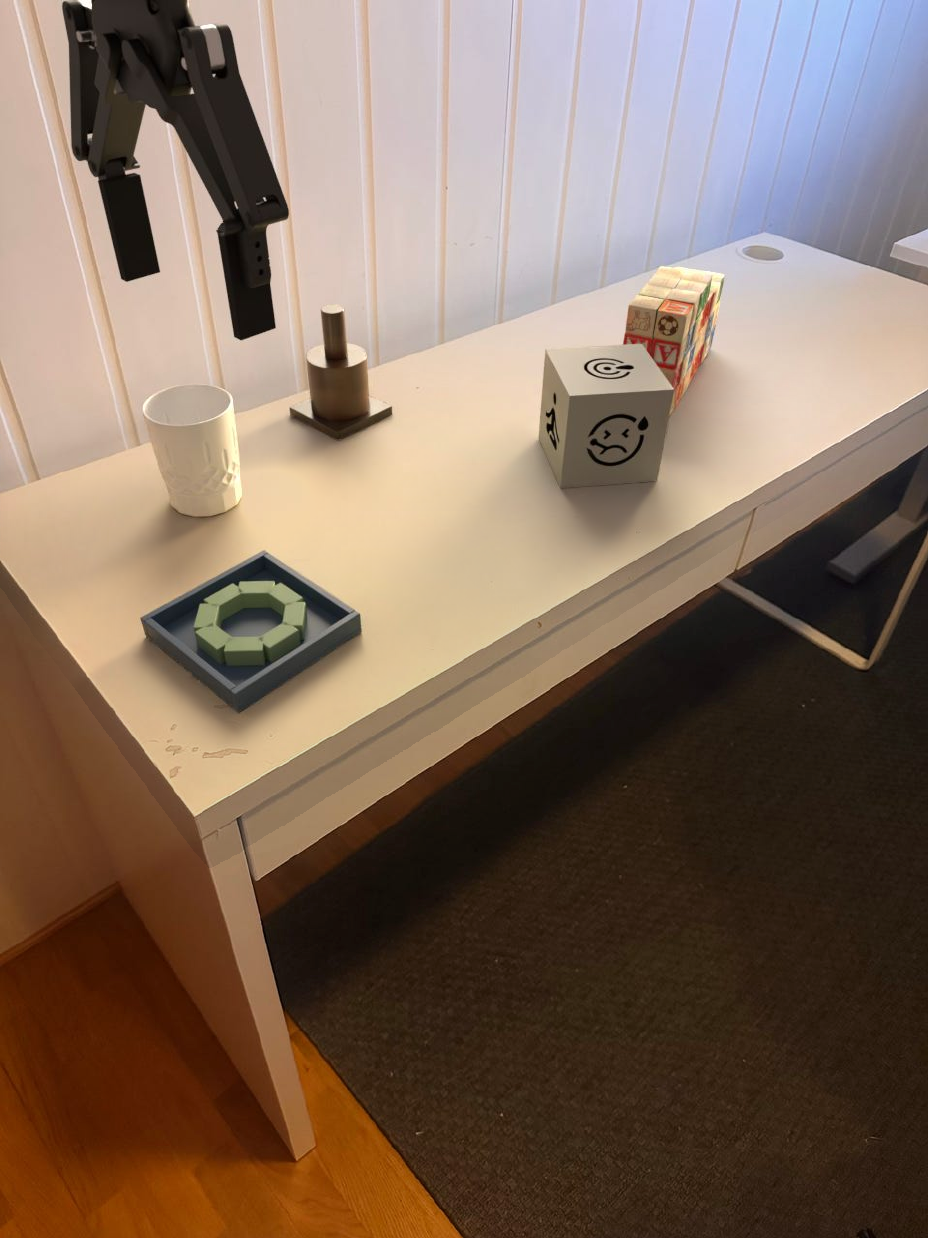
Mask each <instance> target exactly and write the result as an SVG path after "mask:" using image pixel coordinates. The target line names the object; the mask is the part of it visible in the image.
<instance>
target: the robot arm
mask: <svg viewBox="0 0 928 1238" xmlns="http://www.w3.org/2000/svg"><path fill="white" fill-rule="evenodd" d="M189 2H190V0H63V1H62V3H61V12H62V16H63V21H64V25H65V26H64V27H65V31H66V38H67V41H68V63H69V64H68V69H69V71H68V72H69V107H70V143H71V144H70V145H71V152H72V155H73V157H74V158H75V159H76V160H77V161H78V162H84V161H85V162H87V165H88V166H87V167H88V170H89V172H90V173H91V175H92V176H93V177H94V178H98V180H97V183H98V188H99V191H100V192H99V193H100V196H101V201H102V204H103V209H104V212H105V217H106V221H107V225H108V230H109V234H110V238H111V242H112V245H113V247H112V248H113V251H114V255H115V259H116V264H117V268H118V273H119V277H120V280H122V281H124V282H126V283H128V282H132V281H135V280H138V279H142V278H145V277H149V276H153V275H155V274H159V273H161V269H160V264H159V259H158V255H157V249H156V245H155V240H154V235H153V230H152V226H151V221H150V216H149V210H148V206H147V201H146V197H145V196H146V195H145V192H144V191H145V190H144V186H143V182H142V177H141V174H138V173H136V172H132V173H127V174H126V172H127V171H132V170H137V169H140V168H141V165H140V164H139V162H138V160H137V159H136V157H135V151H136V147H137V143H138V139H139V134H140V131H141V130H140V129H141V125H142V122H143V118H144V113H145V109H146V106H147V107H149V108H150V109H154V110H155V111H156V113H157V114H158V116H159V118H160V119H161V120H162V121H163V122H165V123H167V124H169V125H171V126H172V127H173V128H174V131H175V133H176V134H177V136H178V138H179V140H180V142H181V144H182V145H183V147H184V149H185V151H186V153H187V155H188V158H189V159H190V161H191V163H192V165H193V167H194V168H195V170H196V172H197V174H198V176H199V178H200V180H201V182H202V184H203V186H204V187H205V189H206V191H207V193H208V195H209V196H210V199H211V201H212V202H213V204H214V206H215V208H216V211H217V212H218V214H219V216H220V218H221V220H222V222H221V223H220V224H219V226H218V227H217V229H216V230H215V232H216V233H217V240H218V247H219V251H220V257H221V263H222V270H223V276H224V282H225V289H226V295H227V301H228V308H229V314H230V320H231V327H232V333H233V338H235V339H237V340H239V341H245V340H247V339H250V338H252V337H255V336H259V335H261V334H263V333H264V334H265V333H266V332H269V331H272V330H275V329H277V326H276V318H275V310H274V304H273V294H272V287H271V282H272V268H271V262H270V261H271V260H270V254H269V244H268V239H267V228H268V226H269V225H274V224H276V223H280V222H284V221H287V220H288V219H289V215H290V209H289V205H288V203H287V200H286V197H285V195H284V193H283V189H282V186H281V185H280V184H281V183H280V182H279V178H278V175H277V173H276V172H277V171H276V170H275V168H274V164H273V162H272V159H271V156H270V153H269V150H268V148H267V144H266V142H265V139H264V137H263V135H262V131H261V128H260V126H259V123H258V120H257V118H256V115H255V112H254V109H253V107H252V104H251V100H250V98H249V96H248V92H247V90H246V87H245V85H244V82H243V79H242V76H241V74H240V73H241V72H240V69H239V64H238V58H237V51H236V47H235V42H234V37H233V32H232V30H231V28H230V26H229V25H228V24H227V23H226V22H218V23H211V24H201V25H196V24H195V21H194V18H193V16H192V12H191V8H190V3H189ZM191 92H193V93H191ZM88 135H91V137H89V138H88Z"/></svg>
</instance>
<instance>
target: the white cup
mask: <svg viewBox="0 0 928 1238" xmlns="http://www.w3.org/2000/svg"><path fill="white" fill-rule="evenodd" d="M234 408H235V407H234V400H233V396H232V395H231V393H229V392H228V391H227V390H225V389H223V388H221V387H219V386H216V385H213V384H205V383H186V384H179V385H173V386H170V387H167V388H163V389H162V390H158V391H157V392H155V393H153V394H151V395H150V396H149V397H148V398H146V399H145V401H144V402H143V403H142V405H141V414H142V417H143V420H144V423H145V426H146V431H147V433H148V437H149V440H150V444H151V447H152V451H153V455H154V457H155V459H156V462H157V467H158V470H159V473H160V475H161V479H162V480H163V482H164V485H165V488H166V491H167V494H168V499H169V501H170V505H171V507H172V508H173V509H174V510H176V511H177V512H178V513H179V514H182V515H185V516H188V517H189V516H190V517H192V518H200V517H201V518H204V517H213V516H217V515H219V514H223V513H226V512H228V511H229V510H231V509H232V508H234V507H236V506H237V505H238V503H239V502H240V500H241V498H242V497H243V490H242V482H241V473H240V470H241V465H240V449H239V442H238V433H237V425H236V418H235V417H236V416H235V409H234Z"/></svg>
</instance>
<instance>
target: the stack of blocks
mask: <svg viewBox="0 0 928 1238" xmlns="http://www.w3.org/2000/svg"><path fill="white" fill-rule="evenodd" d="M725 278H726V274H723V273H718V272H711V271H706V270H698V269H692V268H686V267H680V266H675V267H674V268H673V267H669V266H663V265H660V266H659V267H658V268H657V270H656V271H655V272H654V274H653V276H652V277H651V278H650V280H648V282H647V284H645V285H644V286H643V287H642V288H641V290H640V291H639V292H638V294H636V295H635V297H634V298H633V299H632V300H631V301H630V303H629V304H628V306H627V307H628V308H627V315H626V316H627V317H626V321H625V322H626V323H625V332H624V337H623V342H622V345H627V344H642V345H643V346H644V348H645V349H646V350H647V352H648V353H649V355H650V356H651V357H652V359H653V360H654V362H655V363H656V364H657V366H658V367H659V369H660V370H661V372H662V373H663V374H664V376H665V377H666V379H667V380H668V381H669V383H670V384H671V386H672V387H673V388H674V393H673V399H672V404H671V409H670V415H669V417H670V416H671V415H672V413H673V411H674V410H675V409H676V408H677V406H678V404H679V403H680V401H681V399H682V397H683V396H684V395H685V393H686V392H687V390H688V388H689V385H690V382H691V381H692V379H693V378H694V375H695V373H696V372H697V370H698V369H699V366H701V365H702V364H703V362H704V361H705V359H706V358H707V355H708V353H709V352H710V350H711V348H712V347H713V341H714V336H715V335H714V334H715V330H716V326H717V322H718V317H719V311H720V307H721V297H722V293H723V287H724V282H725Z"/></svg>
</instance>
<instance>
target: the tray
mask: <svg viewBox="0 0 928 1238" xmlns="http://www.w3.org/2000/svg"><path fill="white" fill-rule="evenodd" d="M249 581H274V582H275V585H277V584H279V583H282V584H283V585H285V586H286V587H288V588H289V589H291V590H292V591H294V592H295V593H297V594H298V595H300V596H301V597H302V598H303V602H305V604H306V611H307V622H306V630H305V637H304V640H300V645H299V646H298V647H296V648H295V649H293V650H291V651H290V652H288V653H287V654H285V655H284V656H282V657H281V658H279V659H277V660H276V661H274V662H273V663H271V662H270V661H268V660H267V659H266V661H265V665H252V666H227V664H226V661H225V662H224V663H222V664H219V663H218V662H217V661H216V660H214V659H213V658H212V657H211V656H209V655H208V654H207V653H206V652H204V651H203V650H202V649H200V648H199V647H198V643H197V641H196V637H195V633H194V629H193V627H194V623H195V620H196V616H197V612H198V609H199V605H200V604H204V599H206V598H207V597H209V596H211V595H213V594H215V593H216V592H218V591H220V590H222V589H223V588H225V587H227V586H229V585H231V584H234V585H236V586H237V587H238V586H239V582H249ZM282 621H283V616H282V615H280V614H279V613H278V612H276V611H275V610H273V609H272V608H243V609H242V610H240V611H238V612H236V613H235V614H233V615H231V616H230V617H228V618H226V619H224V620H223V621H222V623H221V628H220V629H221V630H223V631H224V632H225V633H227V634H228V635H229V636H231V637H260V636H262V635H264V634H265V633H267V632H269V631H270V630H272V629H273V628H275V627H277V626H278V625H280V624H282ZM361 621H362V619H361V613H360V612H359V611H357V610H355V609H354V608H352V607H351V606H350V605H348V604H346V603H345V602H343V601H342V600H340V598H338V597H336V596H335V595H333V594H332V593H330V592H328V591H327V590H325V589H324V588H322V587H321V586H319V585H318V584H316V583H315V582H314V581H312V580H310V579H309V578H307V577H305V576H304V575H302V574H301V573H300V572H298V571H296V570H295V569H294V568H292V567H290V566H289V565H288V564H286V563H285V562H283V561H281V560H280V559H278V558H277V557H275V556H274V555H272V554H271V553H270V552H267V550H265V549H264V550H261V551H259V552H258V553H256V554H254V555H252V556H251V557H248V558H247V559H245V560H243V561H242V562H240V563H238V564H236V565H234V566H232V567H231V568H229V569H227V570H225V571H223V572H221V573H219V574H217V575H216V576H213V577H212V578H210V579H208V580H206V581H205V582H203V583H201V584H199V585H198V586H195V587H194V588H192V589H190V590H188V591H186V592H185V593H183V594H181V595H179V596H177V597H176V598H174V599H172V600H170V601H168V602H166V603H165V604H163V605H161V606H159V607H157V608H155V609H154V610H152V611H150V612H148V613H146V614H144V615H143V616H141V617H140V622H141V626H142V628H143V633H144V636H145V637H146V638H147V639H148V640H149V641H151V642H152V643H153V644H154V645H155V646H157V647H158V648H159V649H160V650H162V652H164V653H165V654H166V655H168V656H169V657H170V658H171V659H172V660H174V661H175V662H176V663H177V664H179V665H180V666H181V667H182V668H183V669H185V670H186V671H187V672H188V673H189V674H190V675H192V676H193V677H194V678H196V679H197V681H199V682H200V683H201V684H203V685H204V686H205V687H207V689H209V690H210V691H211V692H212V693H214V694H215V695H216V696H218V697H219V698H220V699H221V700H222V701H223V702H225V703H226V704H227V705H228V706H230V708H232V709H234V711H236V712H237V713H238V714H240V713H242V712H243V711H245V710H247V708H249V707H251V706H253V704H255V703H256V702H258V701H259V700H261V699H264V697H266V696H267V695H269V694H270V693H272V692H274V691H275V690H276V689H278V688H279V687H281V686H282V685H284V684H285V683H288V681H290V680H291V679H293V678H294V677H296V676H298V675H299V674H300V673H302V672H304V671H305V670H306V669H308V668H310V667H311V666H312V665H314V664H316V663H318V661H320V660H321V659H323V658H324V657H326V656H328V655H329V654H331V653H332V652H334V651H335V650H337V649H338V648H340V647H341V646H343V645H345V644H346V643H347V642H349V641H351V640H352V639H353V638H355V637H356V636H358V635H359V634H361V633H362V632H363V630H362V622H361Z"/></svg>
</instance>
